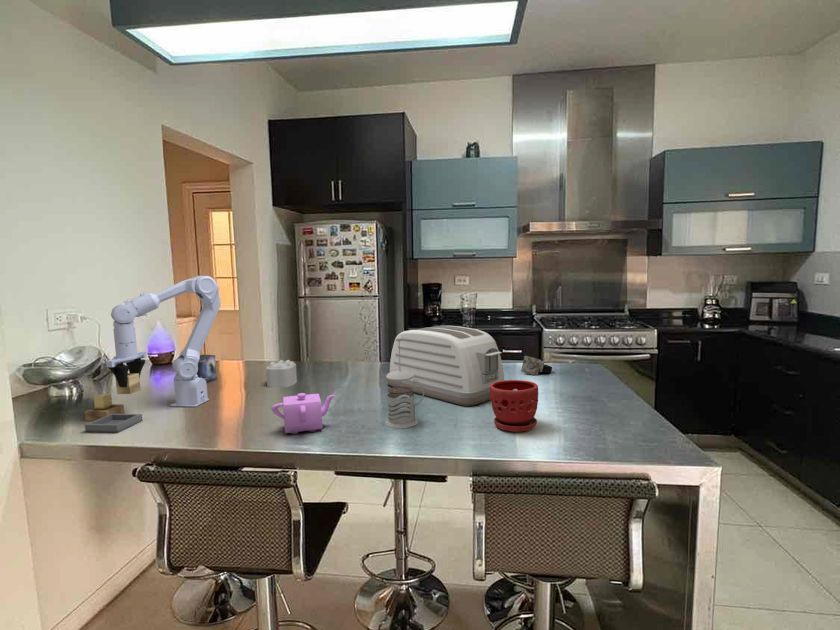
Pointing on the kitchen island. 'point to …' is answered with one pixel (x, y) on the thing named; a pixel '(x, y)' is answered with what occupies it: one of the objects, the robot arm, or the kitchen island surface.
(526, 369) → the mottled grey-brown block
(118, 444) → the kitchen island surface
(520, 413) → the plant pot
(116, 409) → the brown rectangular frame
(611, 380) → the kitchen island surface
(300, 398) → the teapot
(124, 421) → the tray
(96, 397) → the gold rectangular block
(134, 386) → the block
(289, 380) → the lumpy-topped squat cylinder
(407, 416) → the french press
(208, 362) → the small box
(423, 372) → the toaster
